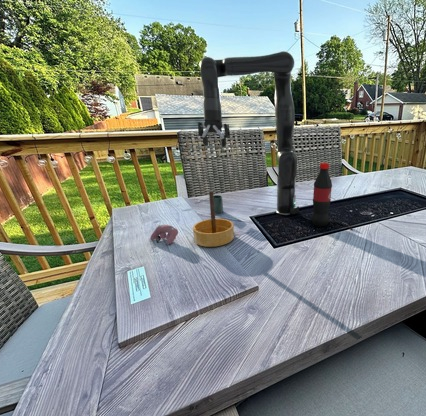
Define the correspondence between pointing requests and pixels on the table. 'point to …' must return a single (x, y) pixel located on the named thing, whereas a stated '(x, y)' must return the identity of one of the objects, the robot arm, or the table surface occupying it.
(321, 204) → the cola bottle
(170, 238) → the video game controller
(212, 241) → the bowl
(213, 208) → the stick
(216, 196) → the holder
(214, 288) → the table surface
